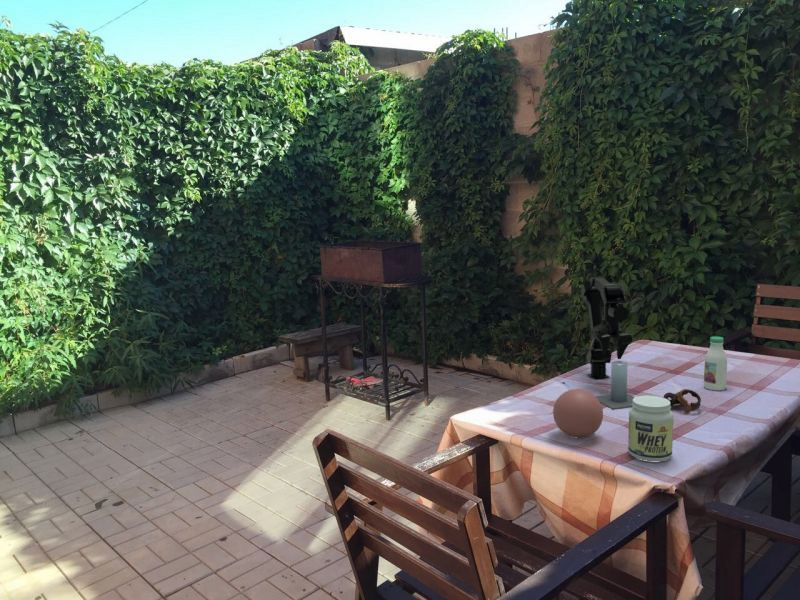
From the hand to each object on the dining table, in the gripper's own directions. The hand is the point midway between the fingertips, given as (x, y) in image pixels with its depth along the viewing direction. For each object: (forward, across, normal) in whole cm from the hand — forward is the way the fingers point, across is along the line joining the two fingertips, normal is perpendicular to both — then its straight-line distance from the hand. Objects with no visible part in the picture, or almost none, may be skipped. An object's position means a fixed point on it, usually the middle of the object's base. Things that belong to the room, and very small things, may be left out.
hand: (611, 356), depth 249 cm
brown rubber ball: (+15, +35, -36) cm, 52 cm away
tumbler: (+13, +13, -6) cm, 19 cm away
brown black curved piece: (+14, +29, +8) cm, 33 cm away
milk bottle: (+13, +14, +36) cm, 41 cm away
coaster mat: (+14, +13, -6) cm, 20 cm away
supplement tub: (+16, +57, -27) cm, 65 cm away
